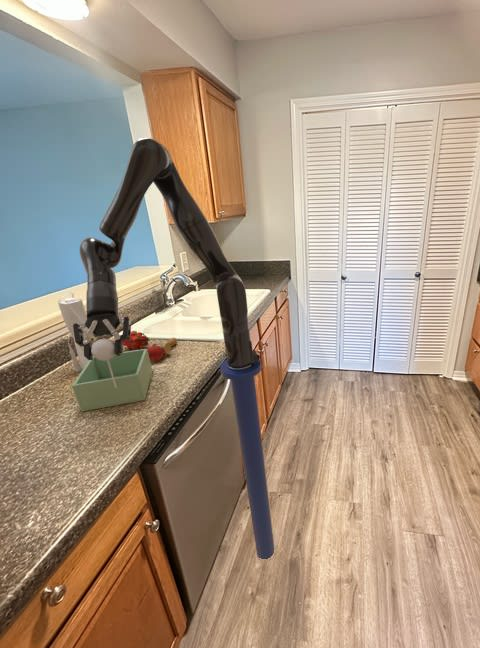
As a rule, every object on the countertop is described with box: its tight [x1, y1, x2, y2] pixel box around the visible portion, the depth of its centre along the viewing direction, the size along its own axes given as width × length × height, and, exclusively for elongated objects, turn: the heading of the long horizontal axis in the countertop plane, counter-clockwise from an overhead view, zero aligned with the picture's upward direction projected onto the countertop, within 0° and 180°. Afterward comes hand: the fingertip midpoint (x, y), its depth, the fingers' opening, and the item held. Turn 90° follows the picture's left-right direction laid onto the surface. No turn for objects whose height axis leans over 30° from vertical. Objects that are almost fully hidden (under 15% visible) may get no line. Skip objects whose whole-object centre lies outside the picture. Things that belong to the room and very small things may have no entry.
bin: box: [71, 348, 154, 412], centre depth 105 cm, size 18×20×9 cm
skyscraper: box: [57, 292, 95, 374], centre depth 118 cm, size 8×8×28 cm
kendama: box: [146, 337, 178, 362], centre depth 130 cm, size 8×6×18 cm
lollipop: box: [91, 338, 117, 388], centre depth 88 cm, size 6×6×15 cm
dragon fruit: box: [123, 330, 151, 351], centre depth 135 cm, size 8×8×12 cm
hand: (104, 356), depth 85 cm, fingers closed on lollipop, 6 cm apart
